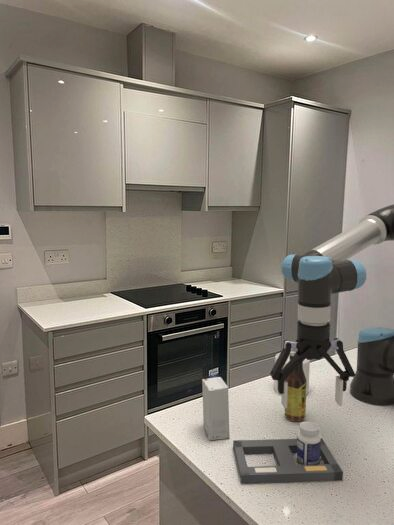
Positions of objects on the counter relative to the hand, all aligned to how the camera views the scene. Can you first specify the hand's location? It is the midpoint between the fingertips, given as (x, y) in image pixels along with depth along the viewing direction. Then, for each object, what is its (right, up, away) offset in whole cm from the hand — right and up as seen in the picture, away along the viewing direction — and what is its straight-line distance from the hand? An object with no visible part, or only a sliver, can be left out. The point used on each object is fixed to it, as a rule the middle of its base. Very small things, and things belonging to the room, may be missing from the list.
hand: (311, 404), depth 100 cm
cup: (+5, -10, +42) cm, 43 cm away
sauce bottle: (+2, -12, +24) cm, 27 cm away
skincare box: (-23, -14, +16) cm, 31 cm away
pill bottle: (0, -16, +2) cm, 16 cm away
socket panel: (-6, -15, +2) cm, 17 cm away
